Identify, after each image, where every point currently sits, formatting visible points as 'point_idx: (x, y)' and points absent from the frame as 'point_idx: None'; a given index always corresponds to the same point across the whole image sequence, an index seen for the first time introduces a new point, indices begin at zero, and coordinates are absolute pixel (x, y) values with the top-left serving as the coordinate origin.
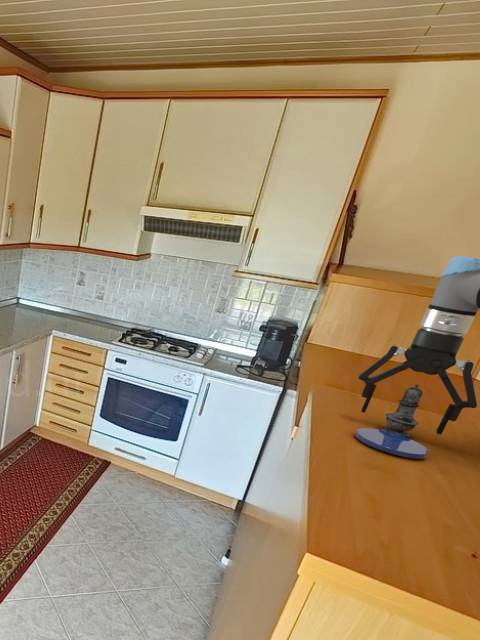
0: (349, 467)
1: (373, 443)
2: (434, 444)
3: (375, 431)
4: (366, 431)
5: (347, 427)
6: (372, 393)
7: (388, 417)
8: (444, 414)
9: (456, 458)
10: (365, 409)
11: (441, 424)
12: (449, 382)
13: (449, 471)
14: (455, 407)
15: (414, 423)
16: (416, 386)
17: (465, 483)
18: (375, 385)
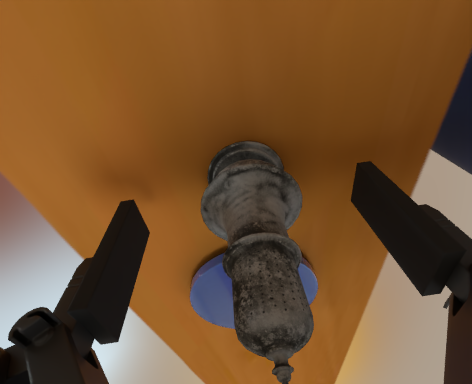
0: (232, 370)
1: (233, 327)
2: (343, 162)
3: (217, 282)
4: (205, 297)
5: (158, 259)
6: (126, 306)
7: (217, 235)
8: (398, 210)
9: None
10: (144, 242)
11: (369, 224)
12: None
13: (344, 292)
14: (447, 280)
15: (289, 223)
16: (280, 370)
17: (358, 310)
18: (93, 321)
